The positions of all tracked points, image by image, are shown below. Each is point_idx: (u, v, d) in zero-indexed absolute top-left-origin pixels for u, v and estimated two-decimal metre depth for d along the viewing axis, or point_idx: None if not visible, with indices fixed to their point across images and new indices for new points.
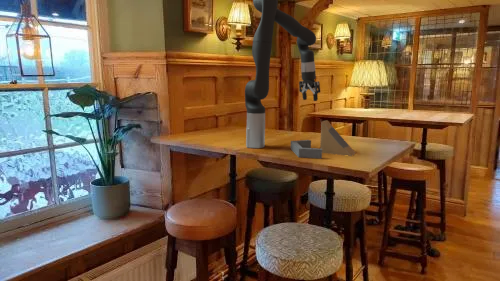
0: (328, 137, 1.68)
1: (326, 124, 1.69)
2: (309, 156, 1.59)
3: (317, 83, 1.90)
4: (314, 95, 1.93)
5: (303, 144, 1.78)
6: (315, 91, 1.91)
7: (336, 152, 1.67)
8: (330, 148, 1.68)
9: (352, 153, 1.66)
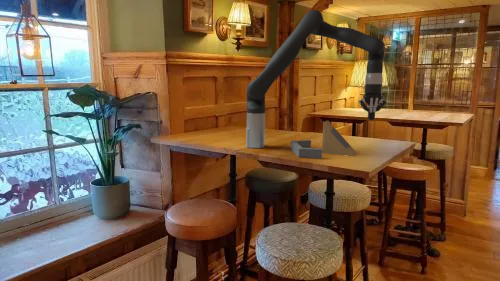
0: (330, 137, 1.67)
1: (328, 124, 1.68)
2: (309, 156, 1.59)
3: (359, 102, 1.68)
4: None
5: (303, 144, 1.78)
6: None
7: (338, 152, 1.66)
8: (332, 149, 1.67)
9: (354, 153, 1.66)
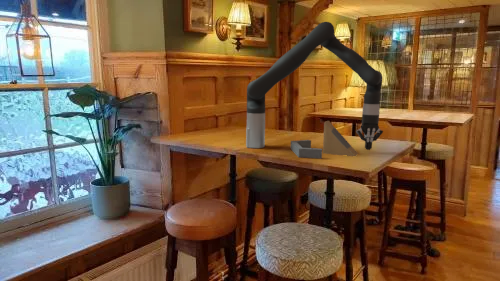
0: (331, 138, 1.66)
1: (329, 125, 1.68)
2: (309, 156, 1.59)
3: (357, 132, 1.70)
4: None
5: (303, 144, 1.78)
6: None
7: (339, 153, 1.66)
8: (333, 149, 1.66)
9: (355, 153, 1.66)
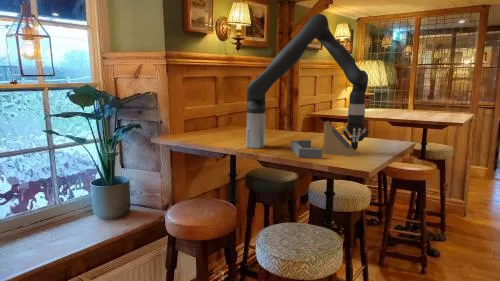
0: (331, 138, 1.65)
1: (329, 125, 1.67)
2: (309, 156, 1.59)
3: (342, 132, 1.70)
4: None
5: (303, 144, 1.78)
6: None
7: (340, 153, 1.65)
8: (333, 149, 1.66)
9: (355, 154, 1.65)
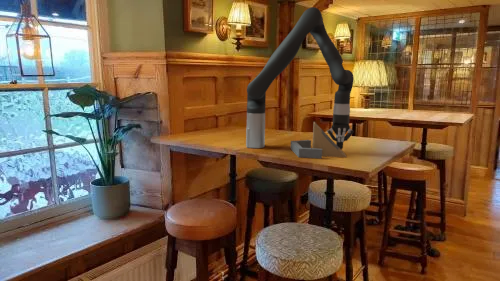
0: (321, 139, 1.62)
1: (317, 126, 1.63)
2: (309, 156, 1.59)
3: (328, 132, 1.69)
4: None
5: (303, 144, 1.78)
6: None
7: (330, 154, 1.62)
8: (323, 150, 1.62)
9: (344, 154, 1.64)
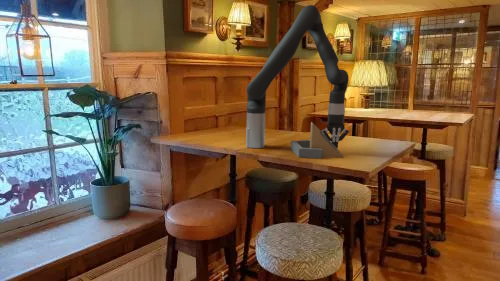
0: (319, 140, 1.61)
1: (315, 126, 1.62)
2: (309, 156, 1.59)
3: None
4: None
5: (303, 144, 1.78)
6: None
7: (328, 154, 1.61)
8: (322, 151, 1.61)
9: (342, 154, 1.64)
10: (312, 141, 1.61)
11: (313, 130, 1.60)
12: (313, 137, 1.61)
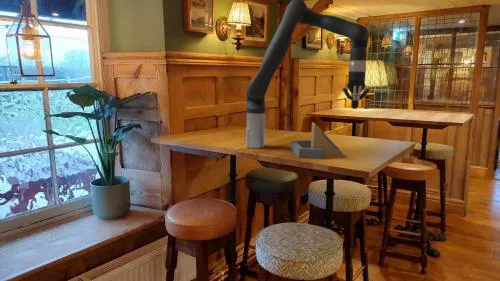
0: (321, 140, 1.60)
1: (317, 126, 1.61)
2: (309, 156, 1.59)
3: (343, 90, 1.66)
4: None
5: (303, 144, 1.78)
6: None
7: (330, 155, 1.61)
8: (324, 151, 1.61)
9: None
10: (314, 141, 1.60)
11: (315, 130, 1.59)
12: (315, 137, 1.60)
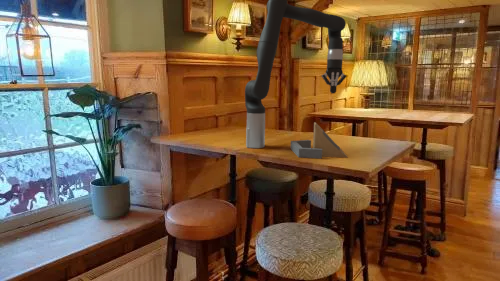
0: (322, 139, 1.61)
1: (318, 126, 1.62)
2: (309, 156, 1.59)
3: (322, 77, 1.83)
4: None
5: (303, 144, 1.78)
6: None
7: (331, 154, 1.62)
8: (325, 151, 1.62)
9: (345, 154, 1.64)
10: (315, 141, 1.62)
11: (316, 130, 1.61)
12: (316, 137, 1.61)
